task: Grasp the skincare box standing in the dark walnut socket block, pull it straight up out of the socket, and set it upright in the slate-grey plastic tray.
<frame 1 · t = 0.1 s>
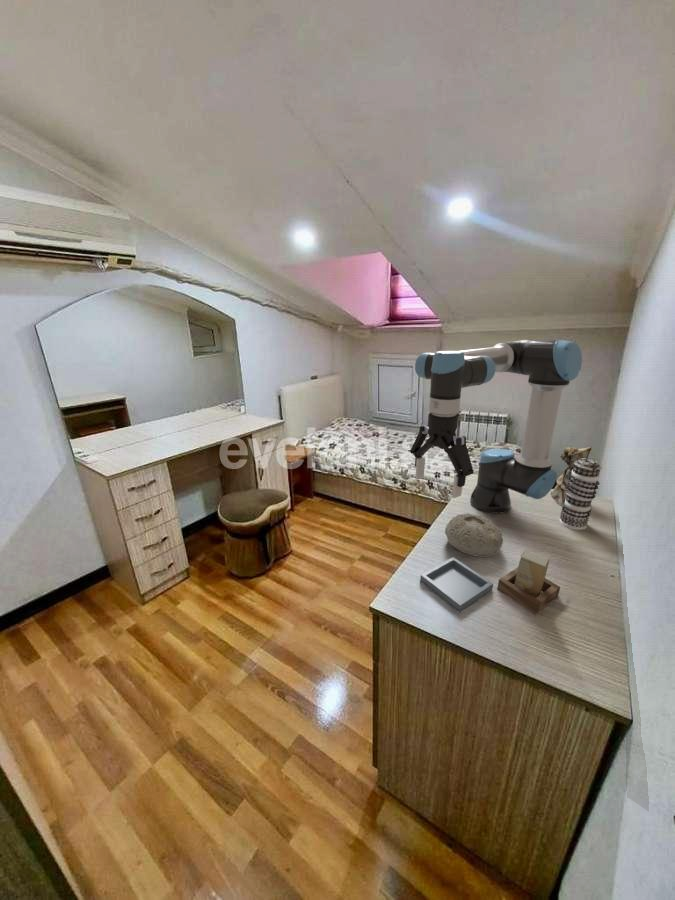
hand: (437, 486, 98), 28 cm above the table, fingers open, 13 cm apart
skincare box: (526, 593, 97), resting in socket block
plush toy: (567, 502, 143), on the table
decorative shell: (471, 547, 117), on the table
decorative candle: (572, 523, 129), on the table
socket block: (526, 593, 97), on the table
tray: (455, 586, 100), on the table
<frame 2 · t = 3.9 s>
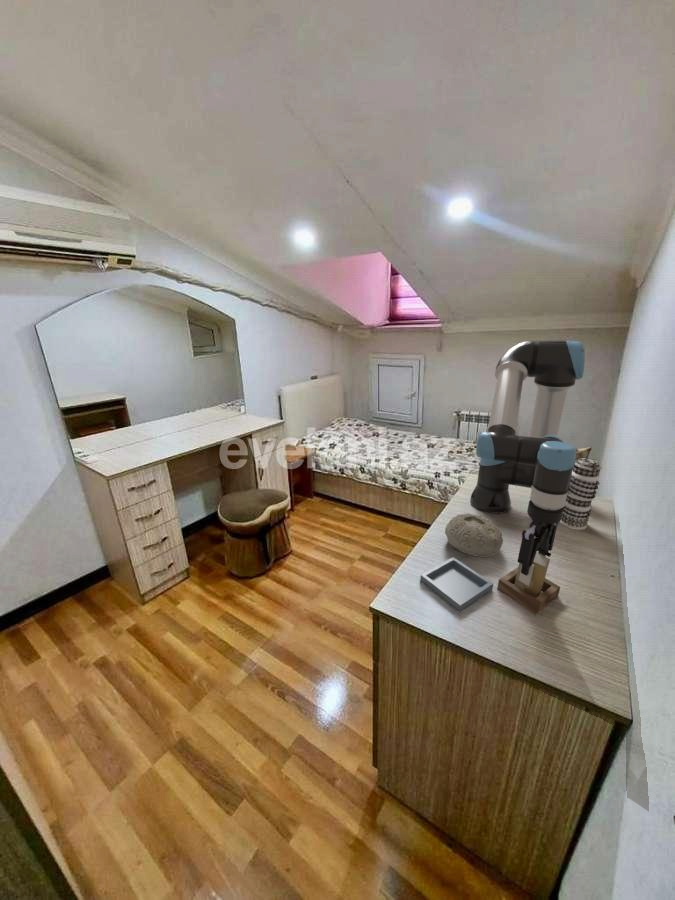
hand: (530, 577, 95), 5 cm above the table, fingers closed on skincare box, 5 cm apart
skincare box: (526, 593, 97), resting in socket block, touching gripper
everything else where it was.
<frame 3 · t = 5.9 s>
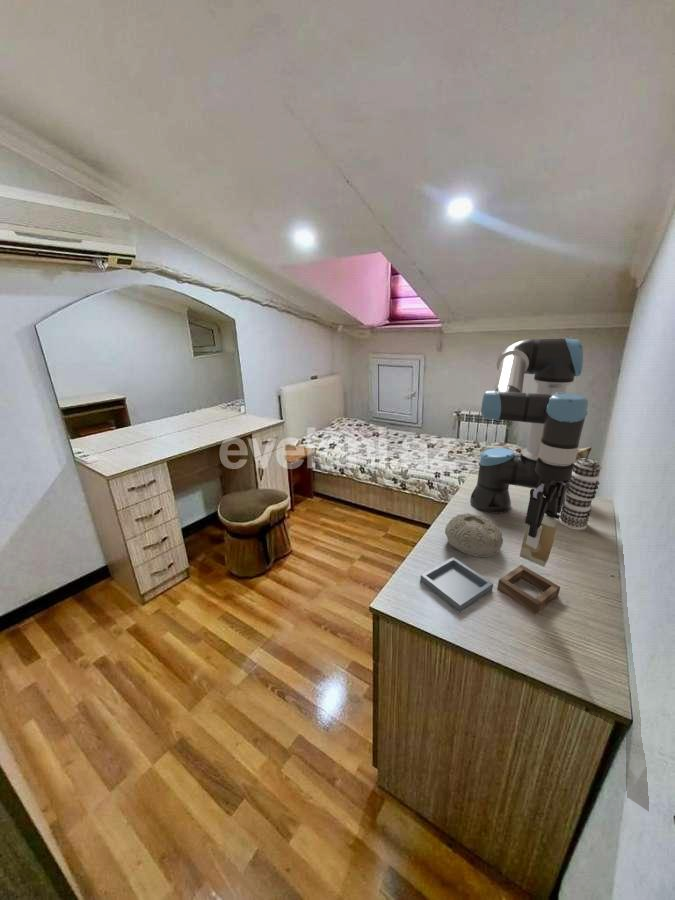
hand: (537, 541, 91), 17 cm above the table, fingers closed on skincare box, 5 cm apart
skincare box: (534, 559, 93), point 11 cm above the table, touching gripper
everything else where it was.
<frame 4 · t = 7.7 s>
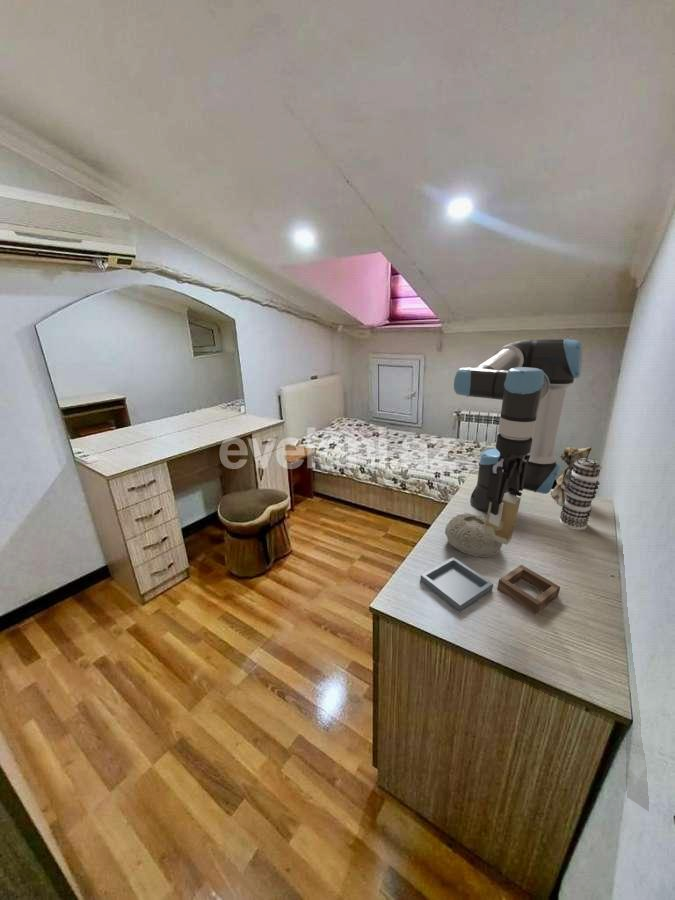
hand: (500, 520, 90), 23 cm above the table, fingers closed on skincare box, 5 cm apart
skincare box: (498, 538, 92), point 17 cm above the table, touching gripper
everything else where it was.
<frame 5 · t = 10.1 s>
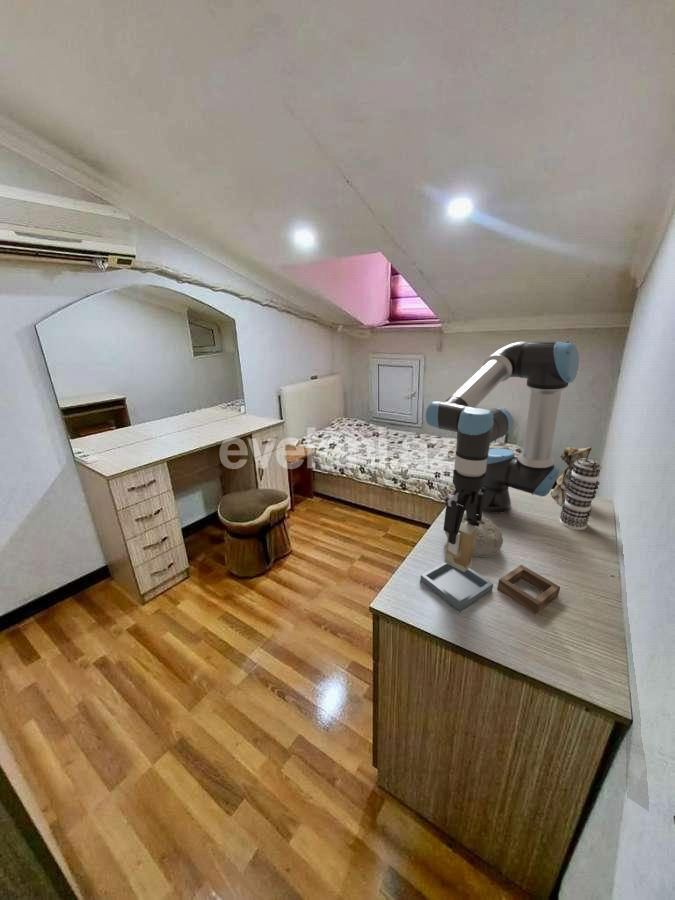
hand: (459, 548, 96), 13 cm above the table, fingers closed on skincare box, 5 cm apart
skincare box: (458, 564, 97), point 8 cm above the table, touching gripper
everything else where it was.
when the fingers open (7 cm above the table, at t = 11.9 s): skincare box drops 1 cm, resting on tray.
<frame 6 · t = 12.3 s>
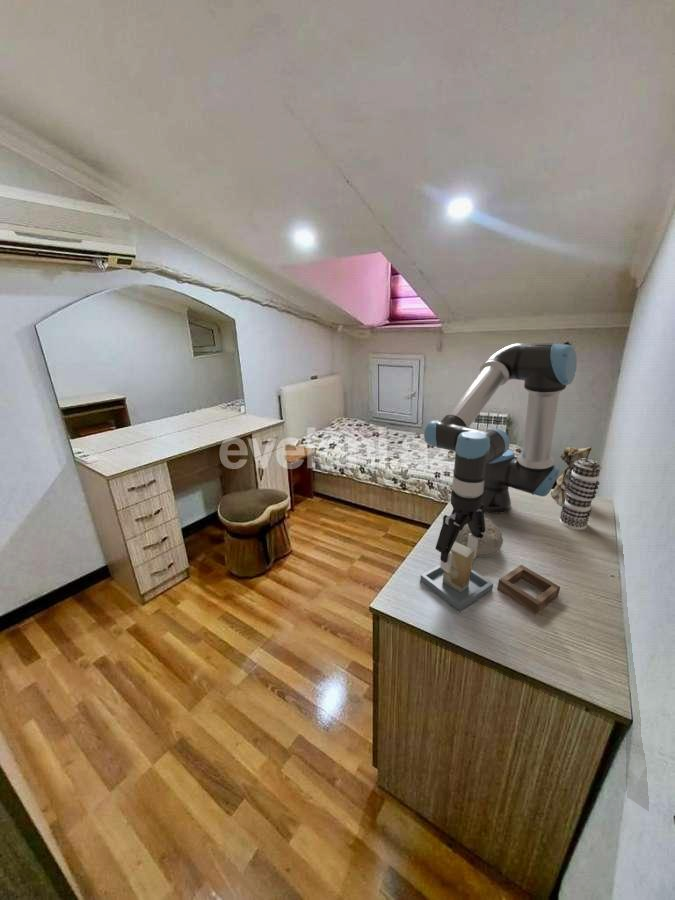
hand: (458, 562, 97), 8 cm above the table, fingers open, 10 cm apart
skincare box: (455, 584, 100), resting on tray
everything else where it was.
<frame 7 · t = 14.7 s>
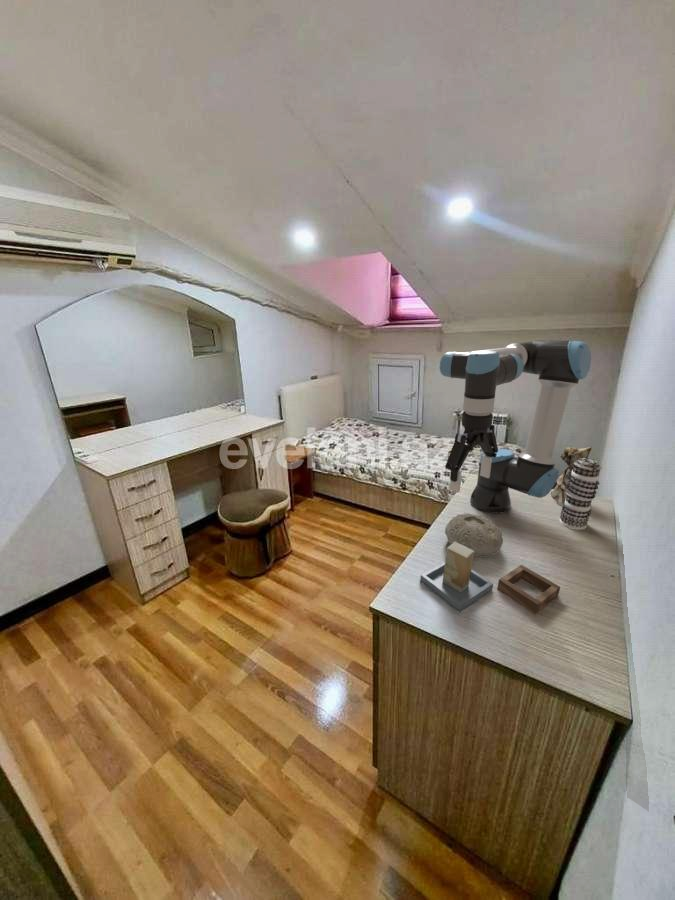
hand: (470, 483, 100), 28 cm above the table, fingers open, 13 cm apart
nothing on the table moved.
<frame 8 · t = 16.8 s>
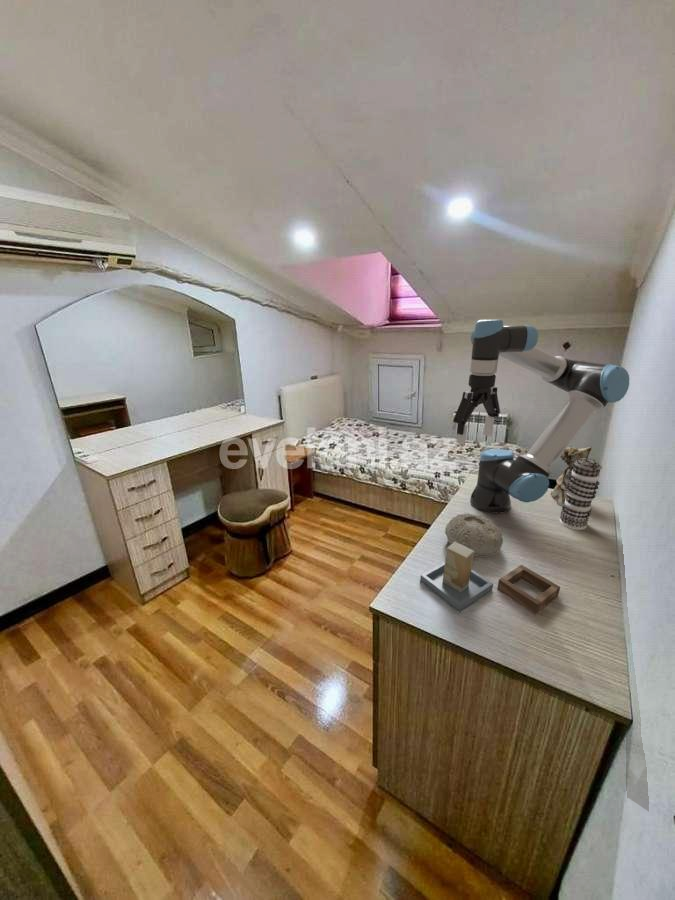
hand: (474, 439, 114), 35 cm above the table, fingers open, 13 cm apart
nothing on the table moved.
at the end: skincare box inside the target area on the tray (0.1 cm from its centre), point 0.4 cm above the tray's base; skincare box tilted 0°; the gripper is holding nothing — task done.
